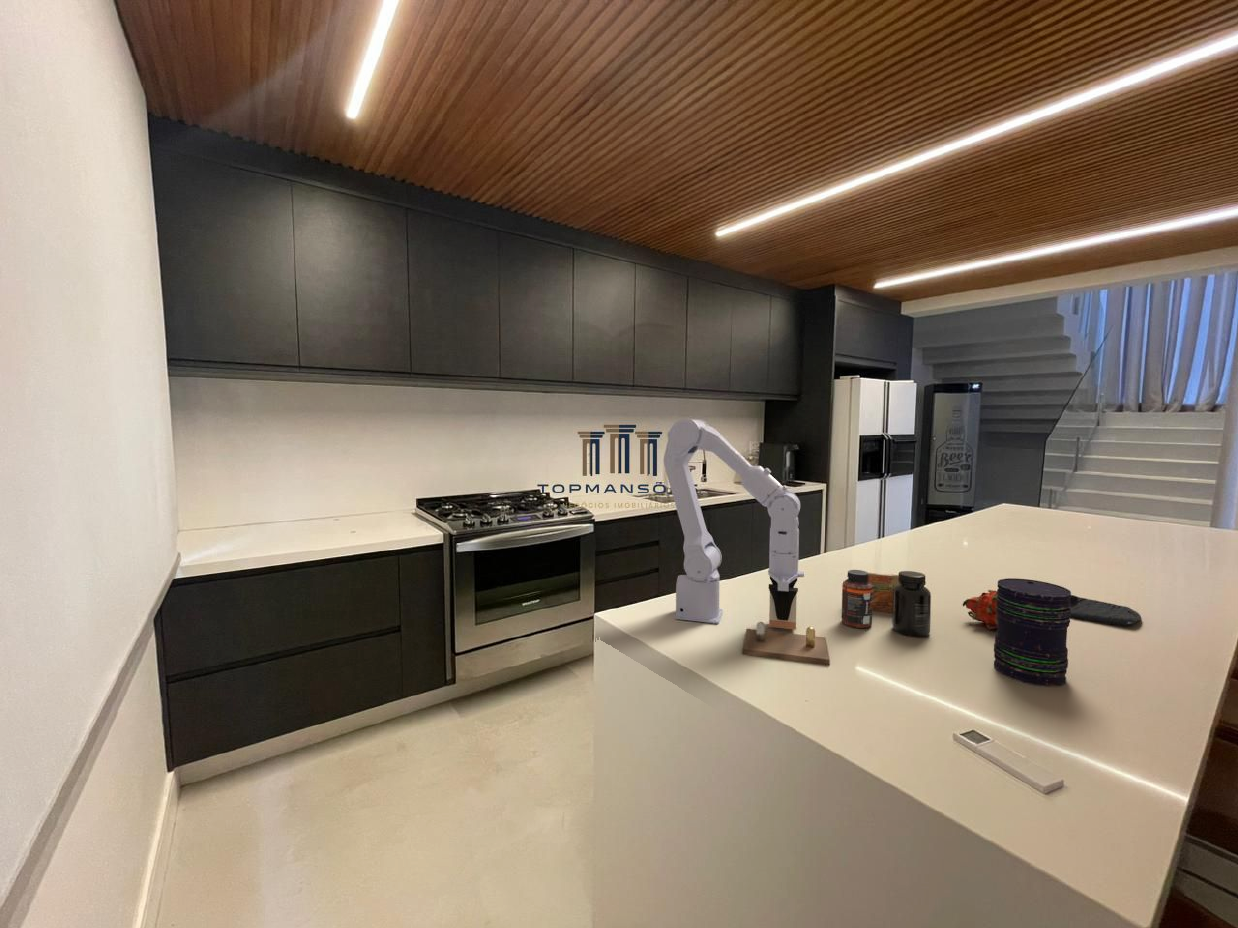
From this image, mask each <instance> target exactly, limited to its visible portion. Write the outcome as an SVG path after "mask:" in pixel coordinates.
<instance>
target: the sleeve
mask: <svg viewBox="0 0 1238 928" xmlns="http://www.w3.org/2000/svg"><path fill="white" fill-rule="evenodd" d="M797 595H798V594H796V596H795V597H794V599H793V602H792V605H791V610H790V615H789V618H788V621H786V620H778V619H777V616H776V611H775V605H774V600H773V597H772V595H771V593H770V592H769V612H768V613H769V615H768V617H769V619H768V622H769V623H768V625H769V626H768V628H769V627H770V628H778V629H787V630H795V631H796V630H797Z"/></svg>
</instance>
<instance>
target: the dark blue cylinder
mask: <svg viewBox="0 0 1238 928" xmlns="http://www.w3.org/2000/svg"><path fill="white" fill-rule="evenodd" d="M996 591H997V596H996V603H997V607H996V613H997V615H998V621H997V628H996V633H995V635H994V643H993V653H994V656H993V657H994V661H993V667H994V669H995V670H996V671H997V672H998V673H1000V674H1002V675H1003V676H1005V677H1007V678H1010V679H1012V680H1014V681H1017V682H1021V683H1023V684H1027V685H1033V686H1038V687H1045V688H1046V687H1047V688H1056V687H1057V686H1059V687H1062V686H1064V685H1065V684H1067V683H1066V682H1067V677H1066V674H1067V669H1068V668H1069V659H1068V657H1069V656H1068V655H1069V650H1068V647H1067V639H1068V628H1069V627H1070V624H1071V620H1070V618H1071V617H1070V615H1071V607H1070V604H1071V601H1070V598H1071V595H1072V591H1071V590H1070V589H1067V588H1066V587H1065V586H1062V585H1058V584H1055V583H1051V582H1047V581H1041V580H1035V579H1027V578H1016V577H1015V578H1014V577H1013V578H1012V577H1011V578H1001V579H999V580H997V589H996ZM1057 688H1058V687H1057Z"/></svg>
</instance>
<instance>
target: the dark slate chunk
mask: <svg viewBox="0 0 1238 928" xmlns="http://www.w3.org/2000/svg"><path fill="white" fill-rule="evenodd" d="M1070 601H1071V604H1070V607H1071V615H1070V618H1073V619H1081V620H1083V621H1090V622H1095V623H1101V624H1106V625H1107V624H1108V625H1113V626H1115V625H1116V626H1121V627H1122V626H1131V625H1133V624H1135V623H1137V622H1138V621H1140V620H1142V616H1141V614H1140V613H1139V612H1137V611H1136V610H1134V609H1132V608H1131V607H1128V606H1123V605H1118V604H1114V603H1109V602H1105V601H1100V600H1093V599H1089V598H1085V597H1079V596H1077V595H1073V594H1071V598H1070Z"/></svg>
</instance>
